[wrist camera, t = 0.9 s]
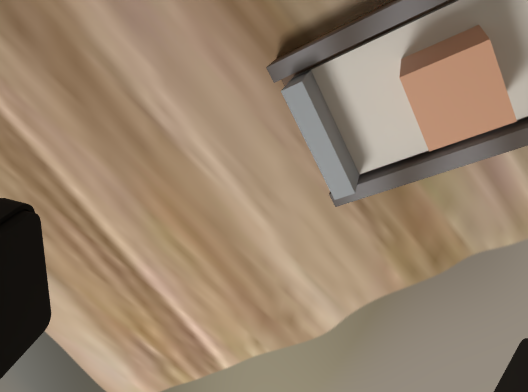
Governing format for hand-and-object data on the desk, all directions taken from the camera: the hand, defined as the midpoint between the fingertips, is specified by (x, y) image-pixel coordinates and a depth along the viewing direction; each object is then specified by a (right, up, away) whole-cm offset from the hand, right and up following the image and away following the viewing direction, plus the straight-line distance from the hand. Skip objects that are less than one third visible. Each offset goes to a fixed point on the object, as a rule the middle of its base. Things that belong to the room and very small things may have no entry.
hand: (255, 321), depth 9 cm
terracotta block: (+13, +10, +22) cm, 28 cm away
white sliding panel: (+11, +10, +24) cm, 28 cm away
